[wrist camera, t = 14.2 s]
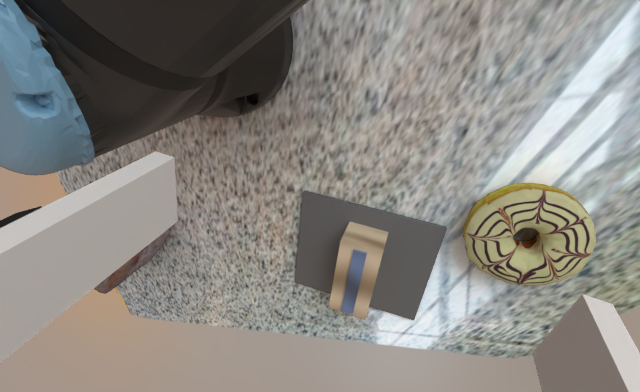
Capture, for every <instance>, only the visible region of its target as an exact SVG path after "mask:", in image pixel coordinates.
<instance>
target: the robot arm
mask: <svg viewBox="0 0 640 392" xmlns="http://www.w3.org/2000/svg"><path fill="white" fill-rule="evenodd" d="M308 1H309V0H0V166H1V167H3V168H6V169H8V170H11V171H14V172H17V173H21V174H25V175H45V174H50V173H54V172H57V171H60V170H63V169H66V168H69V167H72V166H75V165H79V166H83V165H87V164H89V163H91V162H92V161H93V159H94V158H95V157H97V156H99V155H102V154H104V153H107V152H109V151H111V150H114V149H116V148H118V147H121V146H123V145H126V144H128V143H130V142H133V141H135V140H138V139H140V138H142V137H145V136H147V135H149V134H152V133H154V132H157V131H159V130H161V129H164V128H166V127H168V126H171V125H173V124H176V123H178V122H180V121H183V120H185V119H187V118H190V117H192V116H195V115H203V116H214V117H235V116H240V115H244V114H247V113H249V112H251V111H253V110H255V109H257V108H259V107H261V106H263V105H264V104H266V103H267V102H268V101H269V100H271V99H272V98H273V97H274V96H275V95H276V93H277V92H278V91H279V89H280V88H281V86H282V85H283V83H284V81H285V79H286V76H287V74H288V71H289V68H290V64H291V59H292V51H293V34H292V26H291V20H290V16H291V15H292V14H293V13H294V12H296V11H297V10H298V9H299V8H300V7H302V6H303V5H304V4H305V3H307V2H308ZM176 222H178V215H177V195H176V174H175V158H174V157H171V156H168V155H165V154H162V153H159V152H157V151H155V152H153V153H151V154H149V155H147V156H145V157H143V158H141V159H139V160H137V161H135V162H133V163H131V164H129V165H127V166H125V167H123V168H121V169H119V170H117V171H115V172H113V173H111V174H109V175H107V176H105V177H103V178H101V179H99V180H97V181H95V182H93V183H91V184H89V185H87V186H84V187H82V188H80V189H78V190H76V191H74V192H72V193H70V194H68V195H66V196H64V197H63V198H60V199H58V200H56V201H54V202H52V203H50V204H48V205H46V206H44V207H41V206H40V207H37V208H33V209H29V210H26V211H22V212H19V213H16V214H13V215H11V216H9V217H7V218H5V219H3V220H1V221H0V362H2V361H3V360H4V359H6V358H7V357H8V356H10V355H11V354H12V353H13V352H14V351H16V350H17V349H18V348H19V347H21V346H22V345H23V344H25V343H26V342H27V341H28V340H30V339H31V338H32V337H33V336H35V335H36V334H37V333H38V332H40V331H41V330H42V329H43V328H45V327H46V326H47V325H48V324H50V323H51V322H52V321H53V320H55V319H56V318H57V317H58V316H60V315H61V314H62V313H63V312H65V311H66V310H67V309H68V308H70V307H71V306H72V305H73V304H75V303H76V302H77V301H78V300H80V299H81V298H82V297H84V296H85V295H86V294H87V293H88V292H90V291H91V290H92V289H94V288H95V287H96V286H97V285H99V284H100V283H101V282H102V281H104V280H105V279H106V278H107V277H109V276H110V275H111V274H112V273H114V272H115V271H116V270H117V269H119V268H120V267H121V266H122V265H124V264H125V263H126V262H127V261H129V260H130V259H131V258H132V257H134V256H135V255H136V254H137V253H139V252H140V251H141V250H142V249H144V248H145V247H146V246H147V245H149V244H150V243H151V242H153V241H154V240H155V239H156V238H158V237H159V236H160V235H161V234H163V233H164V232H165V231H166V230H168V229H169V228H170V227H171V226H173V225H174V224H175V223H176ZM533 357H534V361H535V365H536V369H537V372H538V376H539V381H540V385H541V389H542V392H640V353H639V351H638V349H637V347H636V346H635V344H634V342H633V340H632V338H631V337H630V335H629V333H628V331H627V330H626V328H625V326H624V324H623V322H622V321H621V319H620V317H619V315H618V313H617V312H616V310H615V308H614V306H613V304H610V303H607V302H604V301H601V300H598V299H595V298H592V297H589V296H586V295H583V294H582V295H581V296H580V298H579V299H578V300H577V301H576V302H575V304H574V305H573V306H572V307H571V308H570V310H569V311H568V312H567V313H566V314H565V315H564V317H563V318H562V319H561V320H560V321H559V323H558V324H557V325H556V326H555V327H554V329H553V330H552V331H551V332H550V333H549V334H548V336H547V337H546V338H545V339H544V340H543V342H542V343H541V344H540V345H539V346H538V348H537V349H536V350H535V351H534V352H533Z"/></svg>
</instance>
